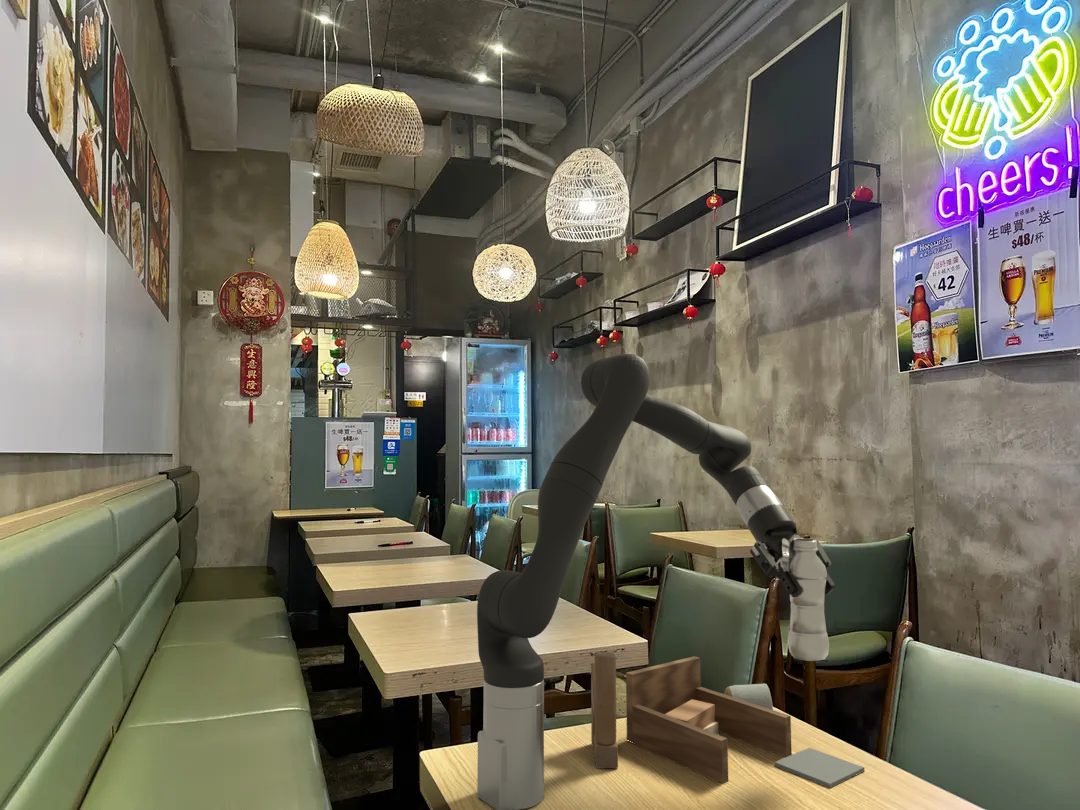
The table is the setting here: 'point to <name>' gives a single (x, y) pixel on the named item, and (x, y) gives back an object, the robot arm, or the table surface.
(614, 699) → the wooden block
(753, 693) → the ceramic mug
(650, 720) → the walnut rack
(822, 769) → the slate mat
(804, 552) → the silver bottle
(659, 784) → the table surface
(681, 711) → the tan rectangular block
